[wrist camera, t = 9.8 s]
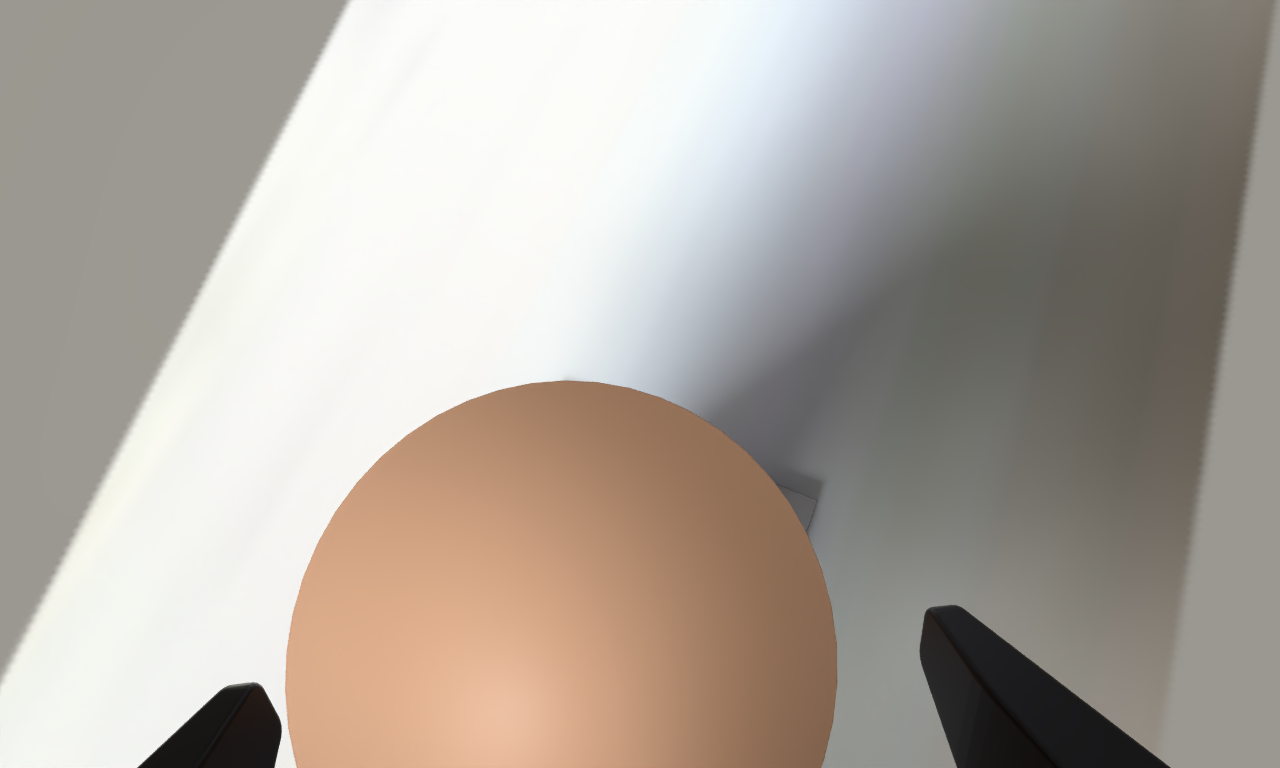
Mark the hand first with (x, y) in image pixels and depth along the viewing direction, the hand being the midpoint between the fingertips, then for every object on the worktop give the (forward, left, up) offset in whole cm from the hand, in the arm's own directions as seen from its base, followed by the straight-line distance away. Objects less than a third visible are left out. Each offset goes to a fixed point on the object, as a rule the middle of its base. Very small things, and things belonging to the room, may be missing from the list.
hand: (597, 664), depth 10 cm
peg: (+1, 0, -9) cm, 9 cm away
